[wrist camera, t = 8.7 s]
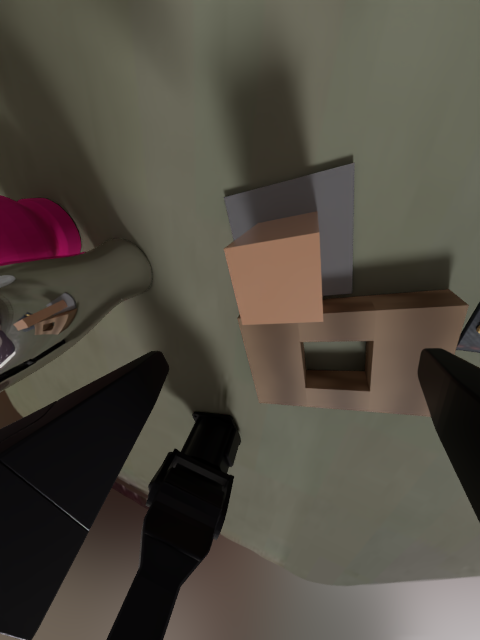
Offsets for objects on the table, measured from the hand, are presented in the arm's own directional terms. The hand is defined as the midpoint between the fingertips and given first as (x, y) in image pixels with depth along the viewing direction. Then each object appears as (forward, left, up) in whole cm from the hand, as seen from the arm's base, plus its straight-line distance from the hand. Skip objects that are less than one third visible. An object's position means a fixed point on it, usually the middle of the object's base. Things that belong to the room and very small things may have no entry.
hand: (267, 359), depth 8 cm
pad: (0, +1, -13) cm, 13 cm away
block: (0, +1, -12) cm, 12 cm away
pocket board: (+3, -9, -13) cm, 16 cm away
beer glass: (-17, +2, -13) cm, 22 cm away
